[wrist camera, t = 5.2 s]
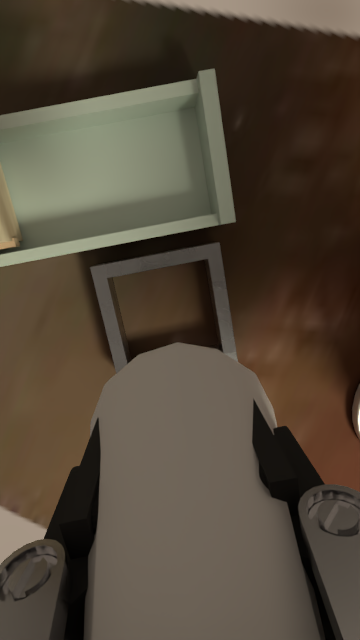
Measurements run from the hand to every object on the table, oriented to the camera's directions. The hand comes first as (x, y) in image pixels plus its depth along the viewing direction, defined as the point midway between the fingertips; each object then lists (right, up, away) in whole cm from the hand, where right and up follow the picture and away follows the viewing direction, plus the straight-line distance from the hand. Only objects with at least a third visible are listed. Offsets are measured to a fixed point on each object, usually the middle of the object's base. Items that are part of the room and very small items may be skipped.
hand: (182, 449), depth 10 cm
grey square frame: (-1, +5, +18) cm, 19 cm away
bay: (-9, +13, +16) cm, 22 cm away
